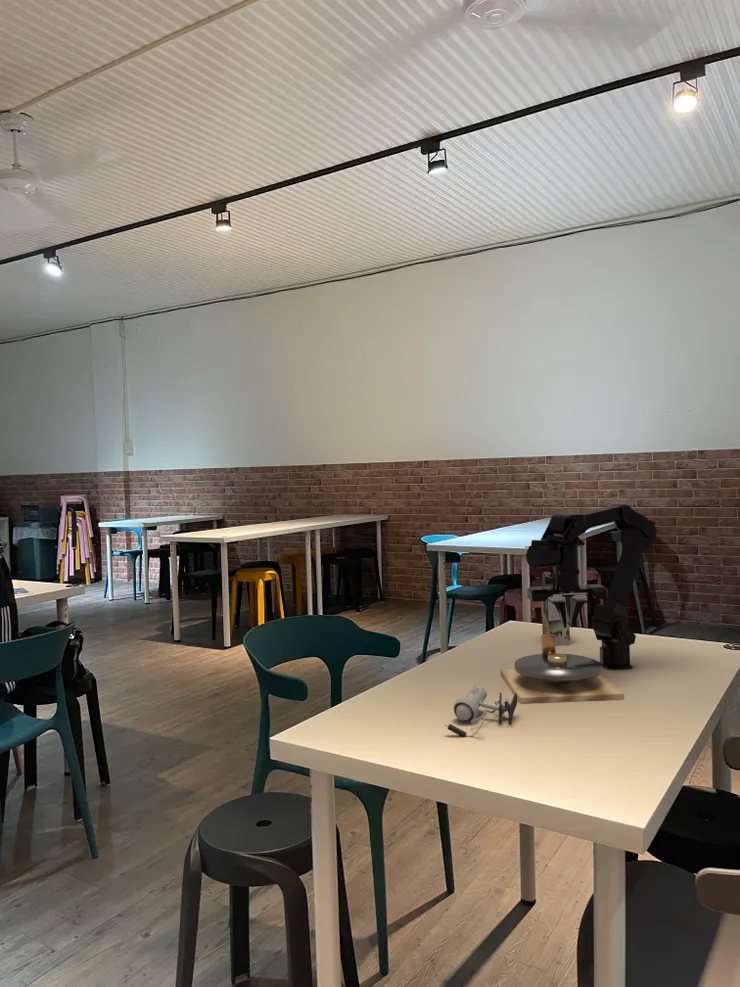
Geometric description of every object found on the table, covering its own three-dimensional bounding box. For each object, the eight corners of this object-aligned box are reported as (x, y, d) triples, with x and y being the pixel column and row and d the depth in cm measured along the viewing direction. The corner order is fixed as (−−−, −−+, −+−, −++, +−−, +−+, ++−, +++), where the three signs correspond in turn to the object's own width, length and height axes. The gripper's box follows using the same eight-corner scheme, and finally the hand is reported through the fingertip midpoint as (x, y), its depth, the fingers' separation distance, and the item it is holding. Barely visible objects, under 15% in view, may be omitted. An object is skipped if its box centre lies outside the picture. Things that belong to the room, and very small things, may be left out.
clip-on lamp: (490, 757, 140) (522, 709, 155) (489, 728, 138) (522, 683, 153) (435, 742, 146) (471, 697, 161) (433, 714, 144) (470, 671, 159)
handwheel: (614, 679, 163) (613, 652, 163) (525, 683, 163) (524, 655, 163) (586, 656, 183) (586, 632, 183) (507, 659, 183) (506, 635, 183)
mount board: (591, 670, 185) (590, 656, 185) (623, 699, 162) (623, 682, 162) (500, 674, 184) (500, 659, 184) (520, 703, 162) (519, 686, 161)
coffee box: (571, 645, 212) (569, 589, 211) (548, 645, 212) (547, 590, 211) (563, 637, 221) (561, 584, 220) (542, 638, 221) (540, 585, 220)
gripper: (593, 559, 188) (595, 619, 189) (521, 562, 188) (523, 622, 189) (608, 564, 177) (609, 628, 178) (531, 567, 177) (533, 631, 178)
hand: (568, 627), depth 181 cm, fingers closed
